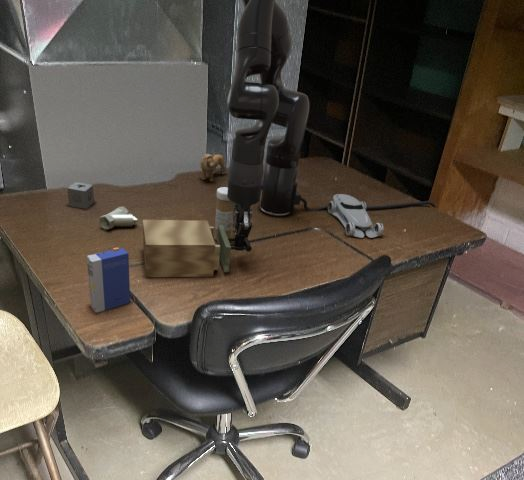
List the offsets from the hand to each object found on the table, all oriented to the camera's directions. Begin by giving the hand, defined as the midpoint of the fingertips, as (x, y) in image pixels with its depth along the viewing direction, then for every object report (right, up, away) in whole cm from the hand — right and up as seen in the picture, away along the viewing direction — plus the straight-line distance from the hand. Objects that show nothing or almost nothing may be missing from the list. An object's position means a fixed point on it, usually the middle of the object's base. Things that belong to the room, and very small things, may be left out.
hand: (238, 249), depth 135 cm
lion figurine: (-10, +31, +47) cm, 57 cm away
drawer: (-8, -3, 0) cm, 8 cm away
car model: (+32, +14, +32) cm, 47 cm away
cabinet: (-15, -4, -1) cm, 15 cm away
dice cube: (-44, +16, +19) cm, 51 cm away
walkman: (-26, -15, -18) cm, 35 cm away
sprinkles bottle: (-5, +5, +12) cm, 14 cm away
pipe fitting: (-31, +8, +11) cm, 34 cm away
